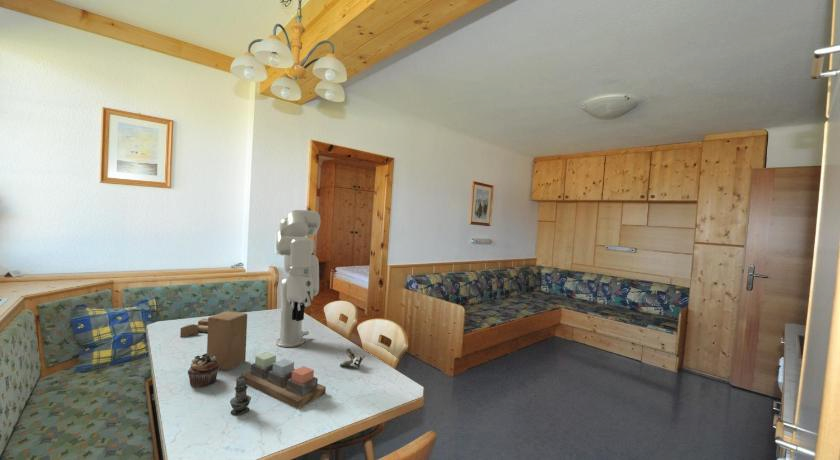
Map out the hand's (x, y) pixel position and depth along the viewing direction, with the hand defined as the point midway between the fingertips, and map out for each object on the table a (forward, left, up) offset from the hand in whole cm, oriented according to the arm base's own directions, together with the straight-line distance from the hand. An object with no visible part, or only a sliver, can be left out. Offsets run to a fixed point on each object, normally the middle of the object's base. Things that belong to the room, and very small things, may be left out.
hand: (297, 319), depth 131 cm
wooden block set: (-6, -71, -23) cm, 75 cm away
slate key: (+8, +3, -17) cm, 19 cm away
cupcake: (+22, -22, -22) cm, 38 cm away
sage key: (+8, -7, -17) cm, 20 cm away
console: (+8, +3, -22) cm, 24 cm away
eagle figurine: (-20, +10, -22) cm, 32 cm away
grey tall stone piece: (+25, +5, -22) cm, 34 cm away
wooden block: (+9, -30, -22) cm, 38 cm away
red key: (+8, +13, -17) cm, 23 cm away
